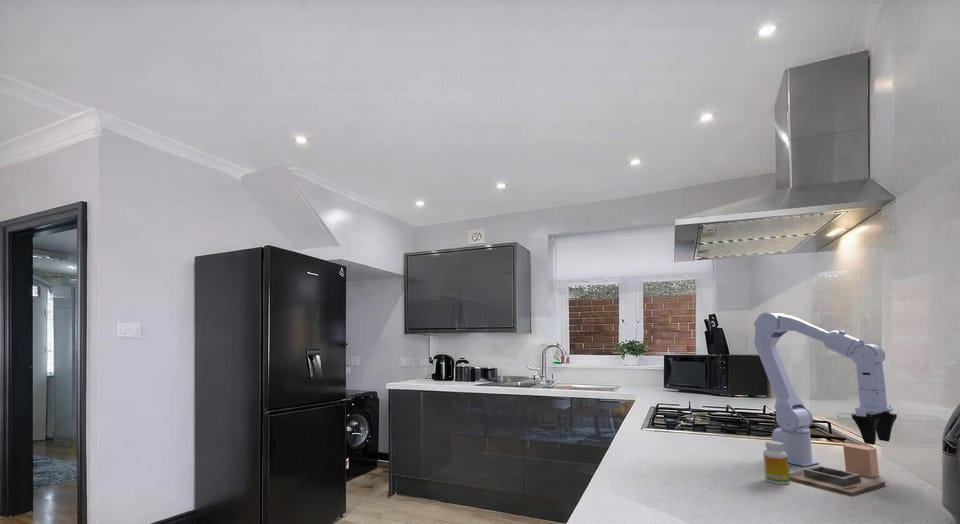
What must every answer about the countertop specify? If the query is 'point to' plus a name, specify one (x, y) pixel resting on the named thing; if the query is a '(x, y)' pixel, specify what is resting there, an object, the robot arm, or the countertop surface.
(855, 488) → the socket board
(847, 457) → the plug block
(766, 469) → the supplement bottle
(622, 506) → the countertop surface
